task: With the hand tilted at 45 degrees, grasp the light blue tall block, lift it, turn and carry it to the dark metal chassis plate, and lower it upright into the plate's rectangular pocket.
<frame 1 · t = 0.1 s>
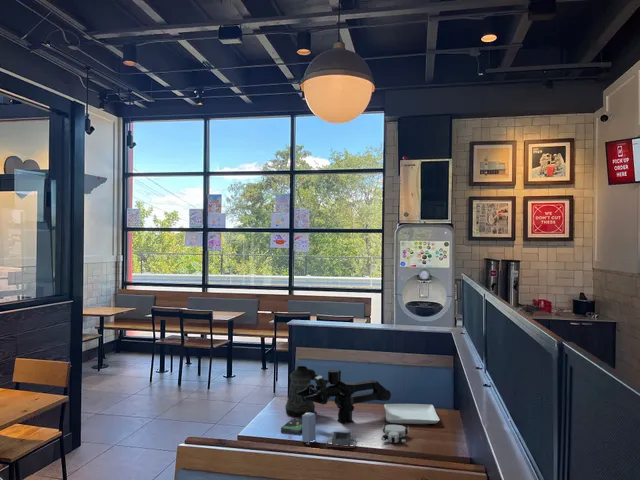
hand: (301, 395, 233), 17 cm above the table, tool horizontal, fingers open, 9 cm apart
light blue tall block: (309, 441, 217), on the table
disk drive: (295, 429, 234), on the table
beer stein: (302, 412, 260), on the table
square plate: (410, 418, 250), on the table
chassis: (341, 443, 214), on the table
robot toy: (394, 439, 219), on the table
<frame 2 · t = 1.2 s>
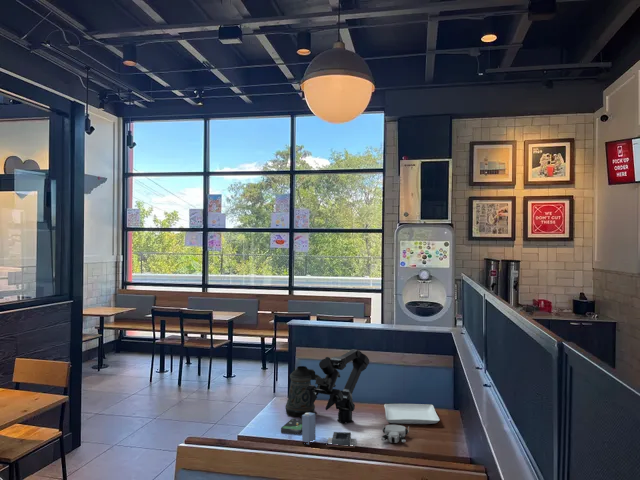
hand: (318, 408, 224), 13 cm above the table, tool tilted 45°, fingers open, 9 cm apart
nothing on the table moved.
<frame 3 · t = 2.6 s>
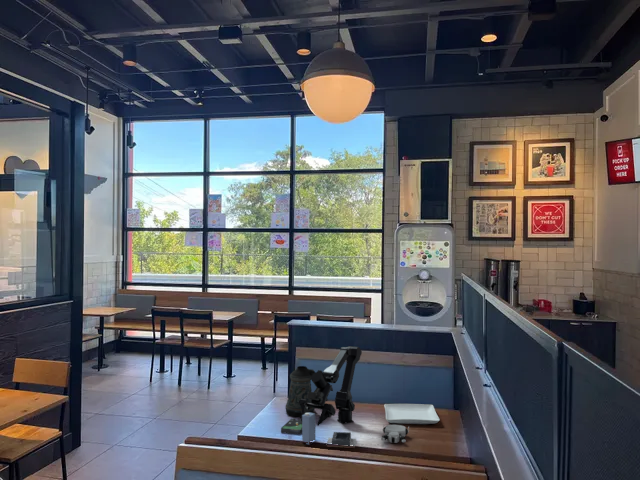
hand: (309, 423, 218), 8 cm above the table, tool tilted 45°, fingers open, 9 cm apart
nothing on the table moved.
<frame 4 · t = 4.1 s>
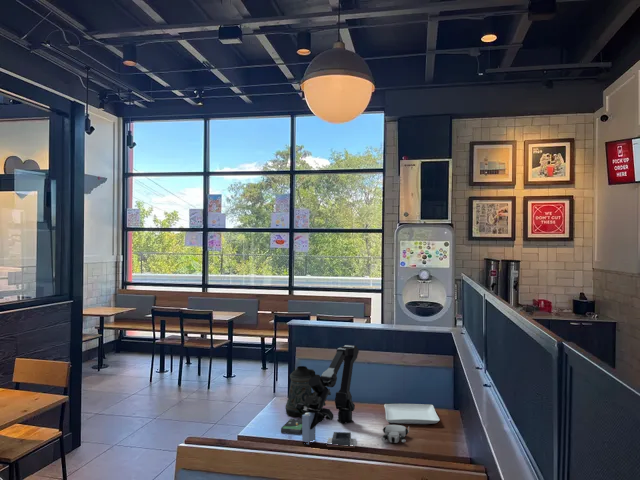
hand: (307, 428, 216), 7 cm above the table, tool tilted 45°, fingers closed on light blue tall block, 4 cm apart
light blue tall block: (308, 441, 217), on the table, touching gripper
everything else where it was.
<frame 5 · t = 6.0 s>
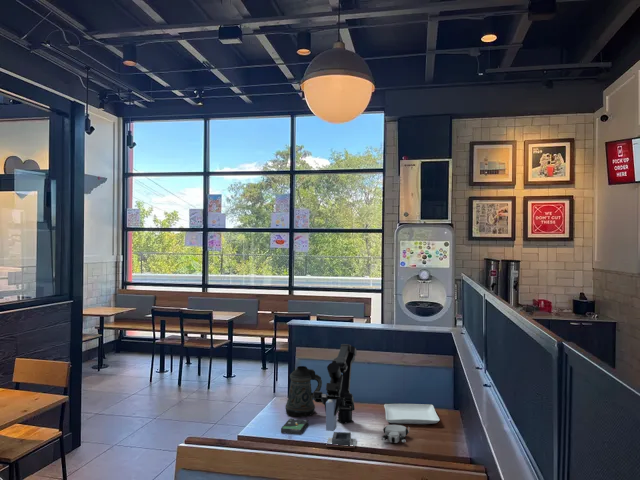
hand: (330, 415, 213), 13 cm above the table, tool tilted 45°, fingers closed on light blue tall block, 4 cm apart
light blue tall block: (331, 428, 214), point 7 cm above the table, touching gripper
everything else where it was.
when the fingers open (9 cm above the table, at t = 8.1 s): light blue tall block drops 2 cm, resting on chassis.
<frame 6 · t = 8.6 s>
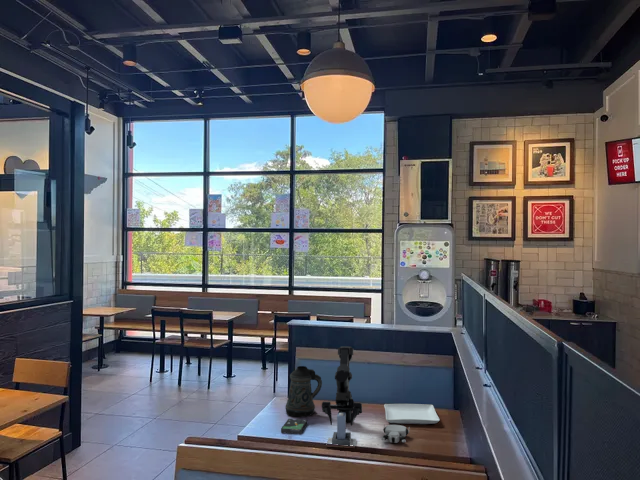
hand: (341, 424, 213), 9 cm above the table, tool tilted 45°, fingers open, 9 cm apart
light blue tall block: (341, 442, 214), point 1 cm above the table, touching chassis
everything else where it was.
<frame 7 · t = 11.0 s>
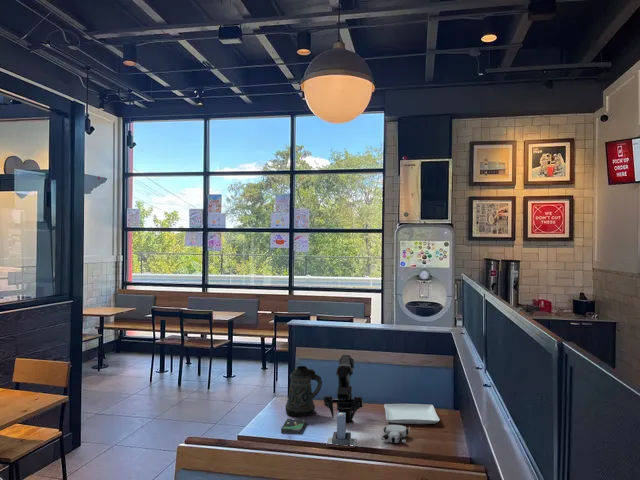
hand: (342, 418, 222), 9 cm above the table, tool tilted 45°, fingers open, 9 cm apart
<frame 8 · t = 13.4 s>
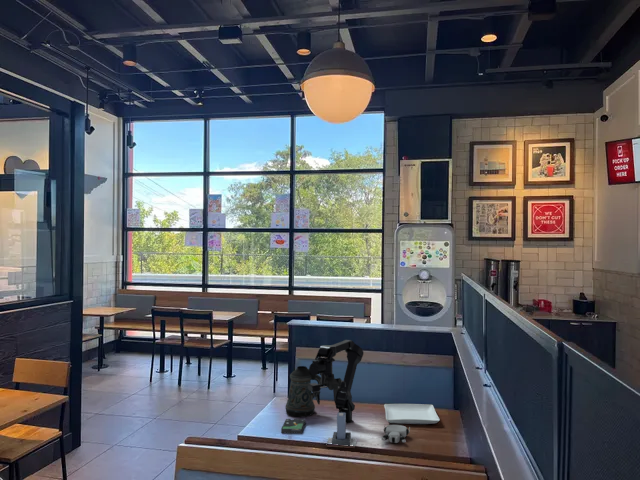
hand: (327, 403, 233), 13 cm above the table, tool pointing down, fingers open, 9 cm apart
at the end: light blue tall block 0.1 cm off-centre on the chassis, point 0.8 cm above the chassis's base; light blue tall block tilted 0°; the gripper is holding nothing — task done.
